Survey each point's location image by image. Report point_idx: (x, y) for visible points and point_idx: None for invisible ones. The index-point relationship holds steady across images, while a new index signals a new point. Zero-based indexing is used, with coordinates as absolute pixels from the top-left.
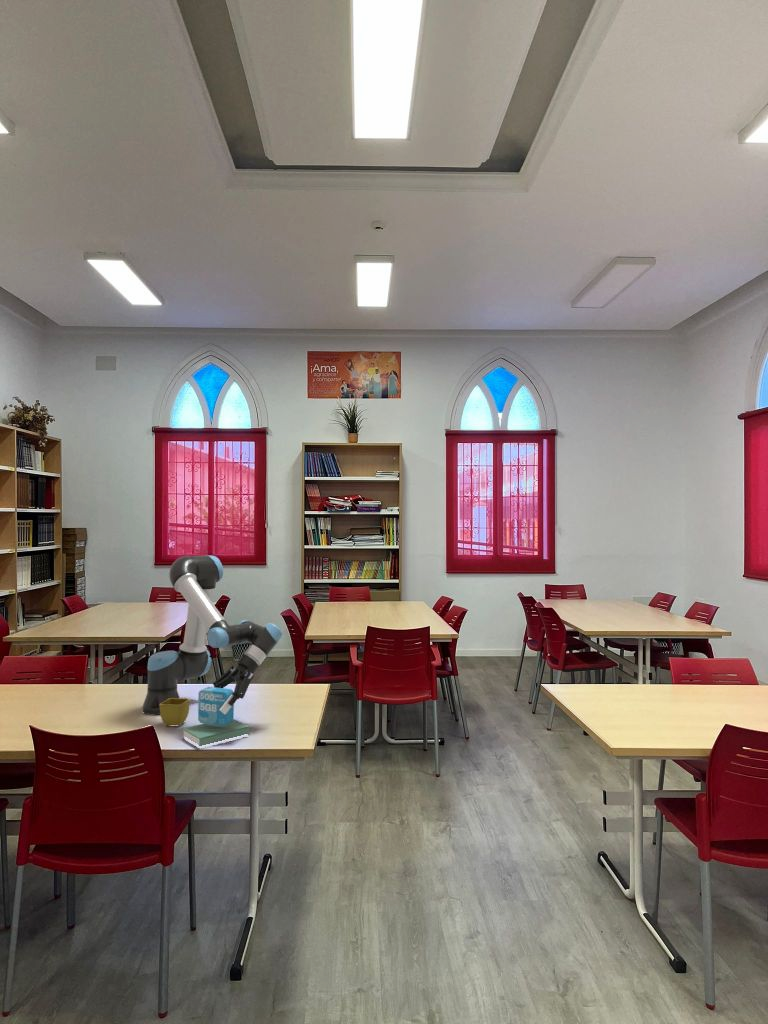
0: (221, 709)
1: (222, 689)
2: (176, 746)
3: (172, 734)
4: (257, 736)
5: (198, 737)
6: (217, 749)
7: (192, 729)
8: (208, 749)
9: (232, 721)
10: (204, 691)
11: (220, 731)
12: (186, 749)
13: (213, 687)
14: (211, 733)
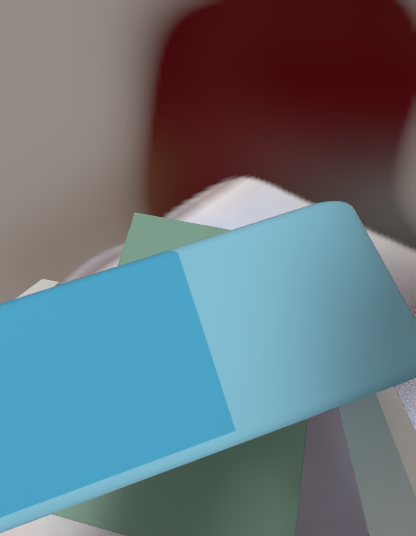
0: (36, 287)
1: (69, 407)
2: (248, 202)
3: (398, 273)
4: (33, 524)
5: (149, 216)
6: (84, 274)
7: None
8: (116, 253)
9: (207, 517)
10: (271, 220)
11: None
12: (189, 206)
13: (307, 399)
14: None
